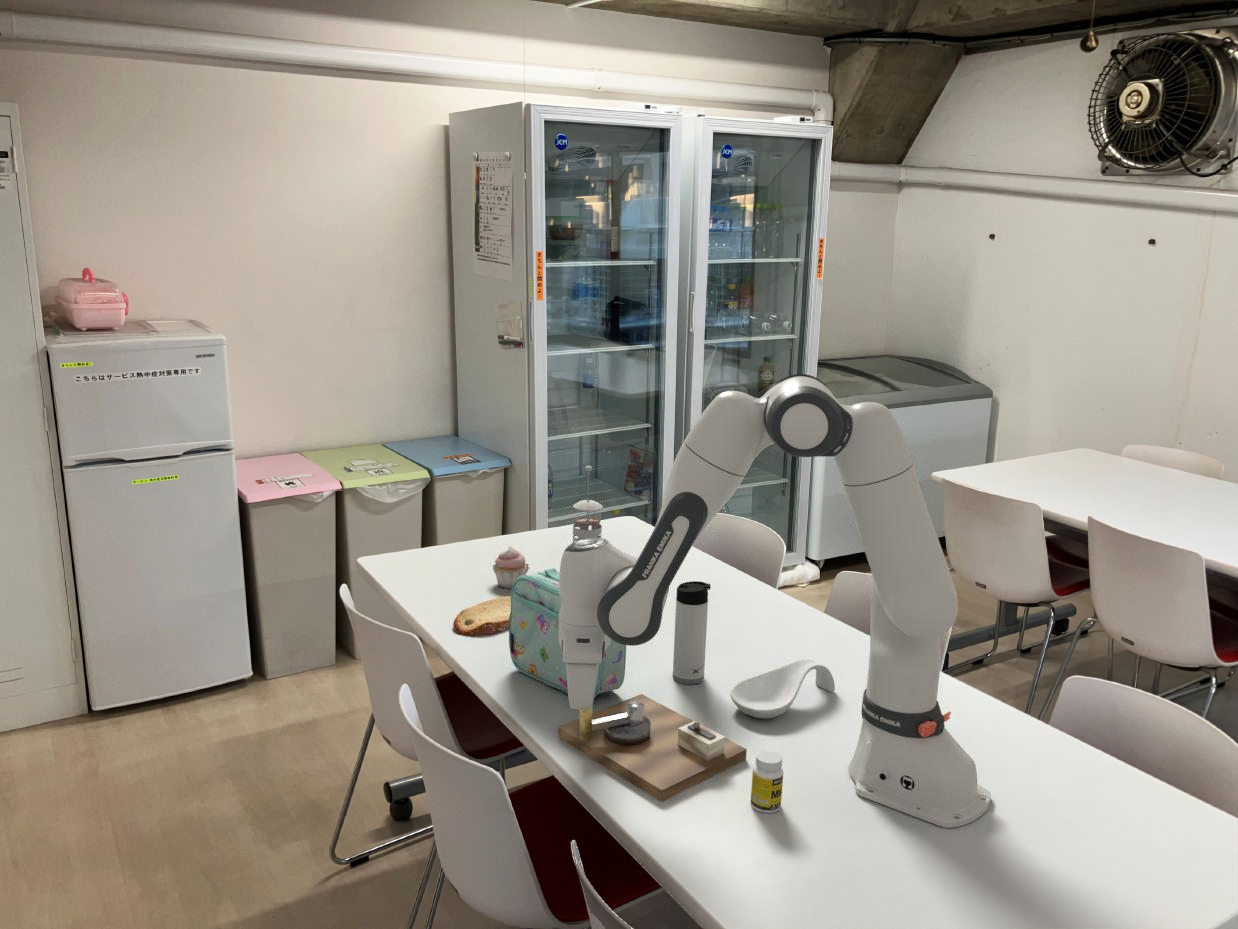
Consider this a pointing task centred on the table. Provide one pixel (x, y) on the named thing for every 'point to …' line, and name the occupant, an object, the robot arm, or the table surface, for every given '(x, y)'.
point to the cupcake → (509, 567)
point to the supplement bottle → (767, 782)
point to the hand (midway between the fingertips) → (583, 708)
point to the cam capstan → (617, 725)
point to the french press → (587, 518)
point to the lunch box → (551, 635)
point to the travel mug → (690, 632)
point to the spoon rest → (777, 688)
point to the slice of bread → (484, 618)
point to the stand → (659, 750)
